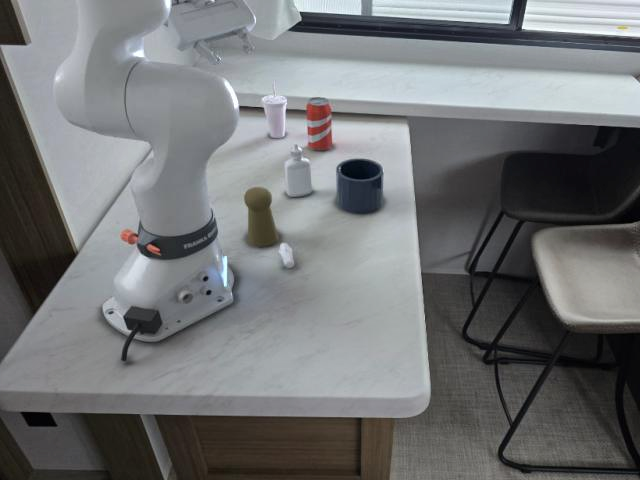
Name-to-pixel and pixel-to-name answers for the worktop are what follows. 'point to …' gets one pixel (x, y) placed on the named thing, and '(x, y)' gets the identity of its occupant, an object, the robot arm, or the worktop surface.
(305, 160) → the eye dropper bottle
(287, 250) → the small white plastic part
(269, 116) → the smoothie
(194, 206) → the robot arm
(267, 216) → the olive pawn
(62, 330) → the worktop surface
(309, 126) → the beverage can
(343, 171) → the dark blue round pot
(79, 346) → the worktop surface
